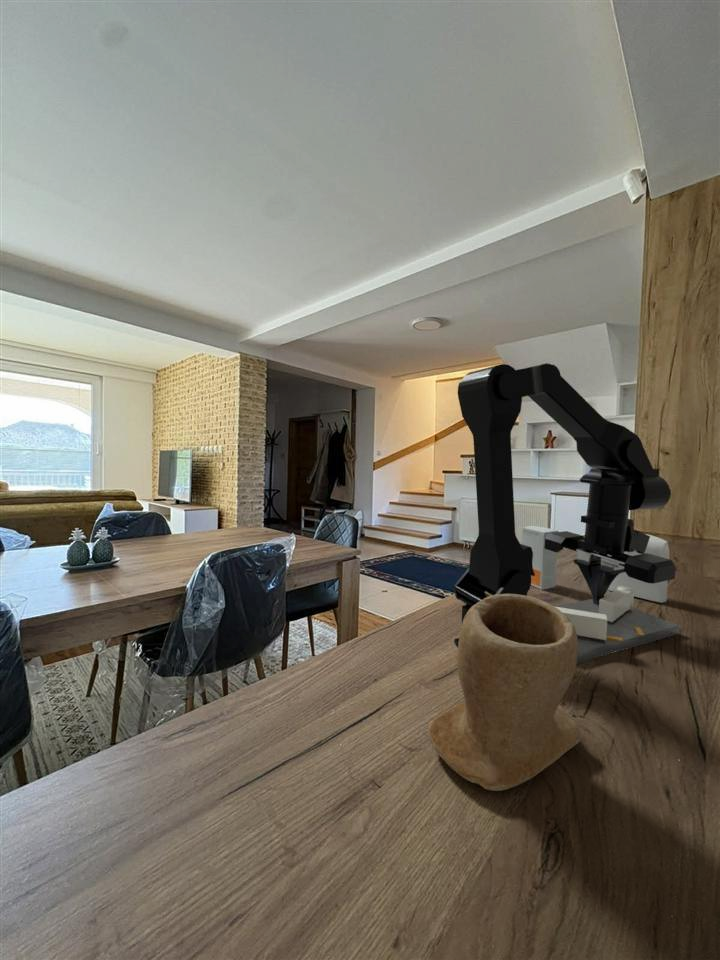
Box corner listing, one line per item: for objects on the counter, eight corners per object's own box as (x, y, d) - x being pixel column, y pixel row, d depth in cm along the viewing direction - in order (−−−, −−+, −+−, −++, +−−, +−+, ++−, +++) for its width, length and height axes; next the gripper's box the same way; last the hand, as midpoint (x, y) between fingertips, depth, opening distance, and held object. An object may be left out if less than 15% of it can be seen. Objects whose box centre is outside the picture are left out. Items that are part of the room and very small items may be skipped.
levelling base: (573, 665, 56) (574, 645, 55) (503, 625, 68) (504, 609, 67) (679, 635, 65) (680, 617, 65) (601, 604, 77) (601, 590, 77)
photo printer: (602, 590, 85) (605, 530, 84) (610, 585, 87) (613, 527, 86) (662, 605, 77) (667, 539, 76) (669, 600, 80) (674, 536, 78)
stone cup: (509, 839, 31) (517, 646, 30) (411, 741, 41) (414, 594, 40) (620, 762, 39) (630, 606, 37) (514, 695, 49) (519, 570, 48)
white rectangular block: (528, 626, 63) (529, 607, 63) (529, 620, 65) (530, 602, 65) (606, 640, 59) (607, 620, 59) (604, 633, 61) (605, 614, 61)
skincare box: (518, 581, 90) (521, 526, 89) (533, 578, 92) (535, 525, 91) (541, 590, 84) (544, 532, 83) (556, 587, 86) (559, 530, 85)
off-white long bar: (619, 602, 73) (620, 585, 73) (634, 606, 72) (635, 589, 71) (596, 617, 67) (597, 599, 66) (613, 622, 65) (614, 603, 65)
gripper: (703, 520, 62) (690, 620, 64) (588, 499, 78) (580, 579, 80) (657, 526, 57) (645, 634, 59) (545, 502, 74) (538, 587, 76)
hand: (597, 604), depth 69 cm, fingers closed
